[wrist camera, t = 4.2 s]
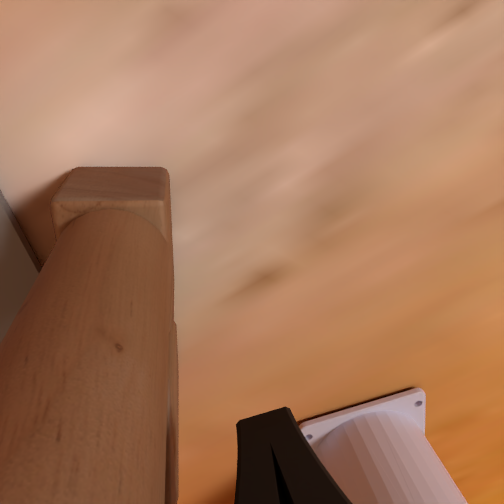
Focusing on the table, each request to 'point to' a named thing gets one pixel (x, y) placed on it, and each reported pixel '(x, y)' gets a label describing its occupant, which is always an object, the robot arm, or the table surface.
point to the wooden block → (96, 351)
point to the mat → (14, 267)
